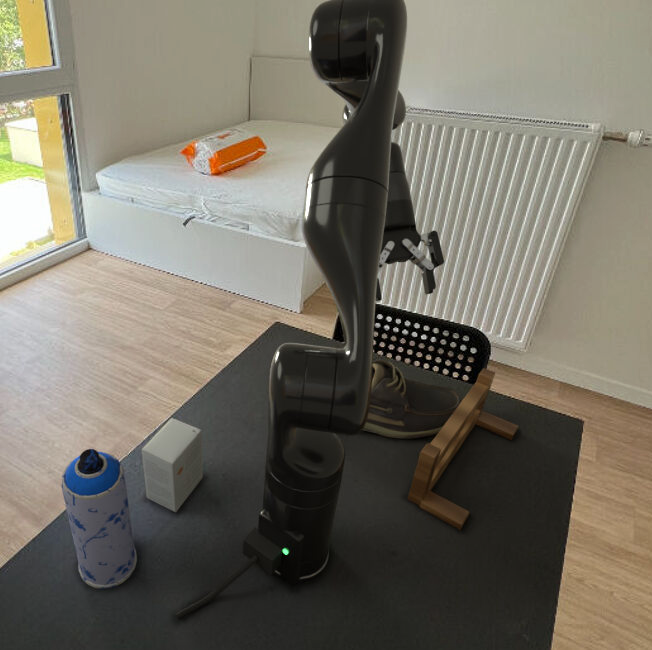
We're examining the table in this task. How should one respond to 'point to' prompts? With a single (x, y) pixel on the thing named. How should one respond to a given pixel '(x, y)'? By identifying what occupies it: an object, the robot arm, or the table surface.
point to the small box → (173, 464)
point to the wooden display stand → (454, 450)
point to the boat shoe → (407, 404)
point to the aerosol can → (99, 518)
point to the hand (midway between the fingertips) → (403, 297)
